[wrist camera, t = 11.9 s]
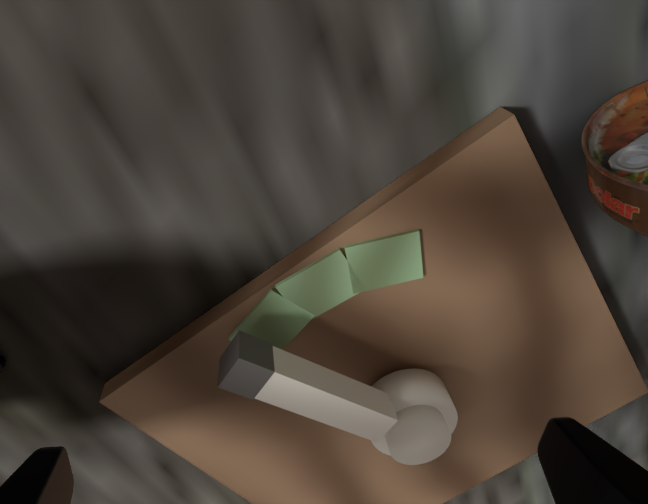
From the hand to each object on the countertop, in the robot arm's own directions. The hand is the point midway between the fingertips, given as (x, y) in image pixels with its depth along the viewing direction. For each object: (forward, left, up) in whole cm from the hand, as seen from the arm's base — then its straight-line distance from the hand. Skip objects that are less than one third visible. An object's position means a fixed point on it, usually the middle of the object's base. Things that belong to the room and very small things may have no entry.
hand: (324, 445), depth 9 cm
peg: (-3, -9, -11) cm, 15 cm away
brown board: (-2, -13, -13) cm, 19 cm away
